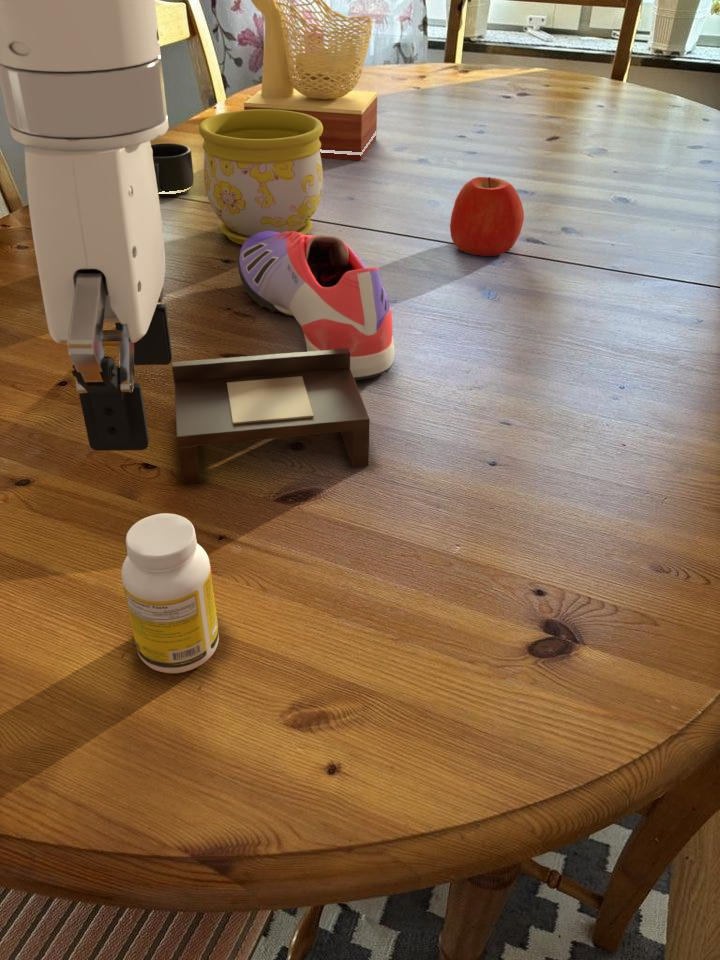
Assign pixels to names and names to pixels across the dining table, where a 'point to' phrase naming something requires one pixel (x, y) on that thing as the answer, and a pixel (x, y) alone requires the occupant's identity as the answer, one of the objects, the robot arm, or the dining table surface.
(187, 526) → the pill bottle
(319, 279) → the coral sneaker
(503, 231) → the apple
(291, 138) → the flowerpot
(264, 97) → the beige netted upright structure
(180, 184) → the mug
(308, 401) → the shelf
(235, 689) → the dining table surface
